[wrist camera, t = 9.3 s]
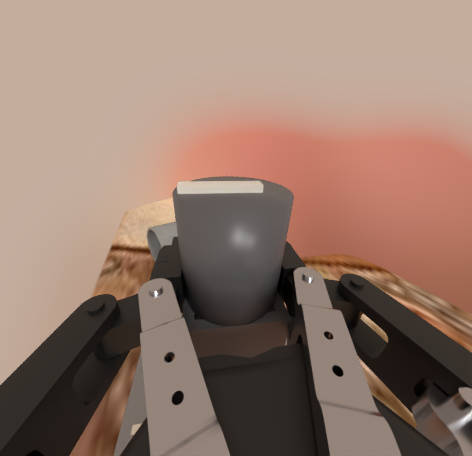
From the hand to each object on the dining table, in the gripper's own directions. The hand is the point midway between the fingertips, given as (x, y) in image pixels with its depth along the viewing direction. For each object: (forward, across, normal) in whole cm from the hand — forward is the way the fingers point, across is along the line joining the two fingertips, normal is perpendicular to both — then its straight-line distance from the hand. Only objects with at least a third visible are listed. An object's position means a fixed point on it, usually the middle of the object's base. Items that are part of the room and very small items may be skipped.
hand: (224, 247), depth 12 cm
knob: (-3, 0, +6) cm, 7 cm away
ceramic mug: (+24, +8, +17) cm, 31 cm away
